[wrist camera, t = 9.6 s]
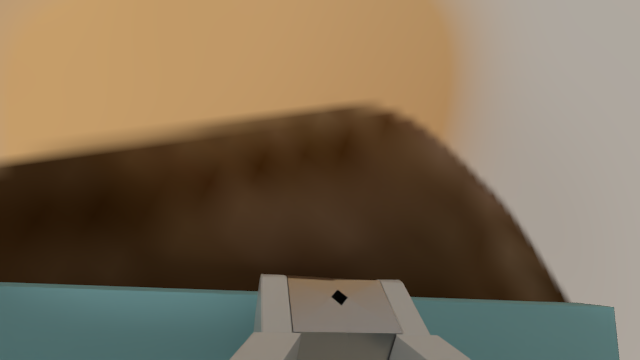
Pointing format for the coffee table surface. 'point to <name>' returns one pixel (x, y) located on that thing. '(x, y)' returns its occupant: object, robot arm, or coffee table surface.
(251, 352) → the robot arm
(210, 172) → the coffee table surface
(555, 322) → the box lid
